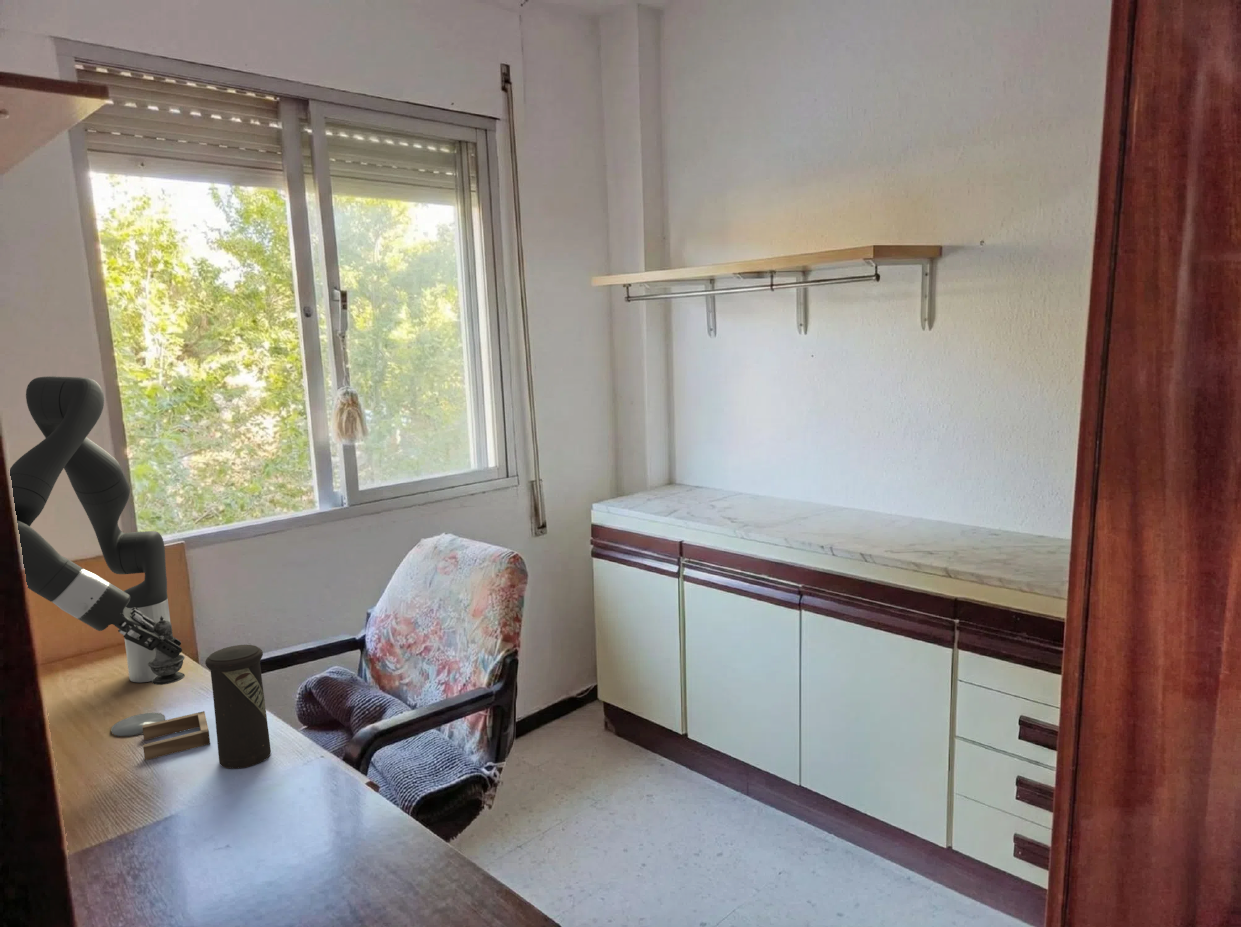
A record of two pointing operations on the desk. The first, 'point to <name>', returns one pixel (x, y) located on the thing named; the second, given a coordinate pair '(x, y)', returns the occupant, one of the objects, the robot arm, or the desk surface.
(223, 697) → the container
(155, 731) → the wooden arch
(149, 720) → the grey oval disc
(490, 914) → the desk surface
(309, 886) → the desk surface
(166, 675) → the stone finial
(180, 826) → the desk surface
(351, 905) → the desk surface
